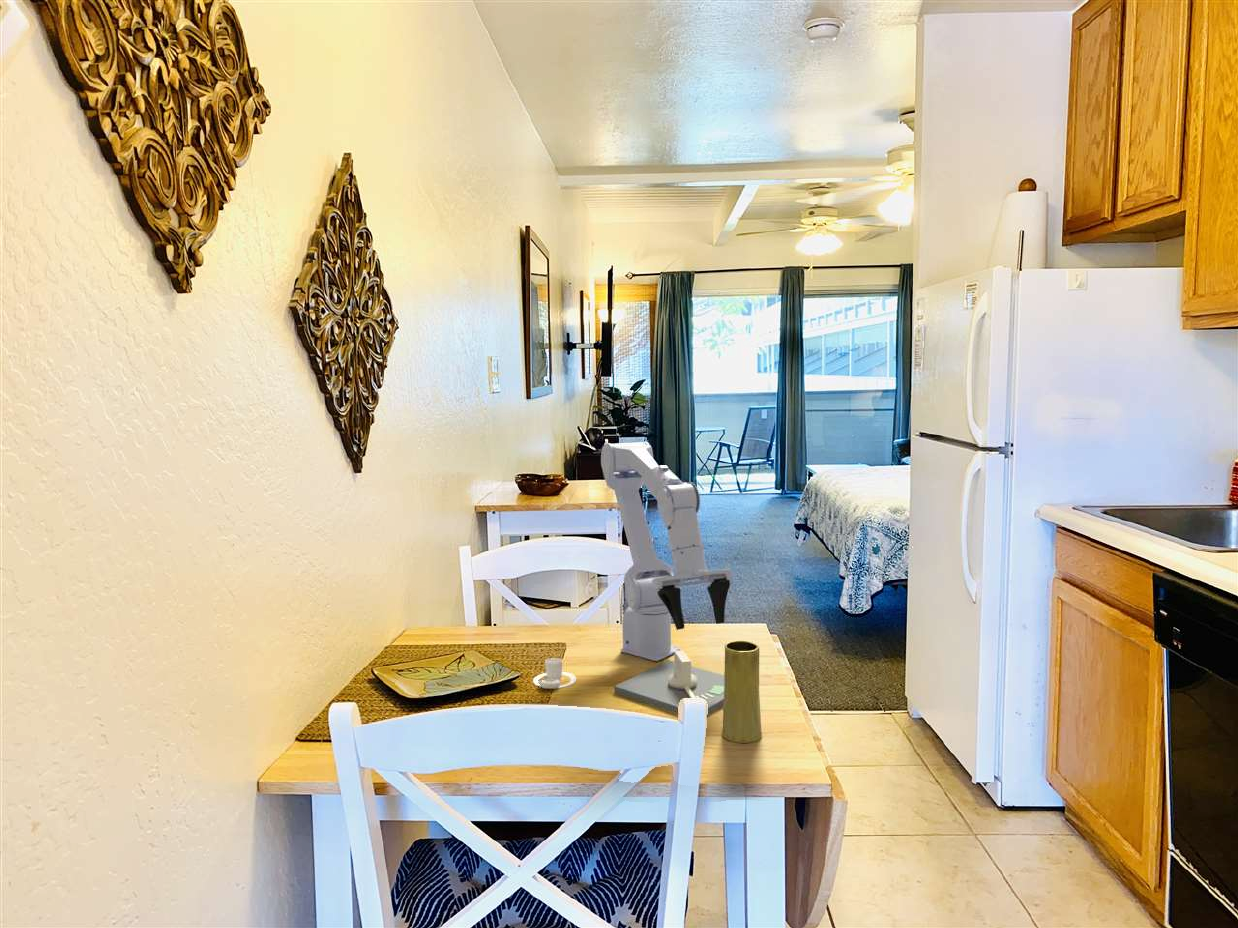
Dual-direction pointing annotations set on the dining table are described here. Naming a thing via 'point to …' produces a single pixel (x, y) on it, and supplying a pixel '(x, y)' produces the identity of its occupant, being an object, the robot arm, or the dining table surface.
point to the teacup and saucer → (553, 675)
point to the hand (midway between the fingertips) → (700, 626)
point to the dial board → (662, 695)
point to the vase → (741, 692)
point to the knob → (682, 673)
